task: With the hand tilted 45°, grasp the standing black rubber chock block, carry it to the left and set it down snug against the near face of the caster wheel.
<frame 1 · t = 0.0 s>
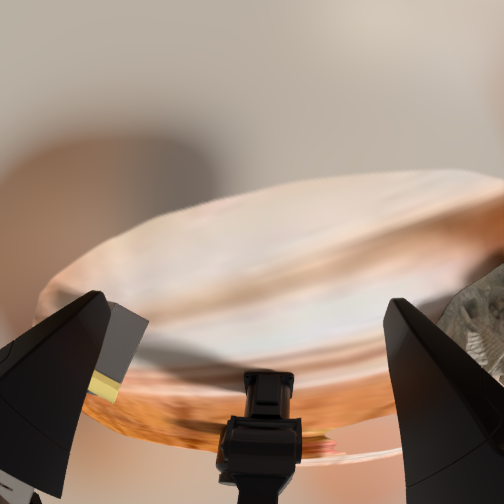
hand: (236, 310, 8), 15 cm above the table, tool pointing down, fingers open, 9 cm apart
ceramic cottage: (490, 299, 25), on the table
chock: (129, 322, 31), on the table
supplement bottle: (238, 430, 46), on the table
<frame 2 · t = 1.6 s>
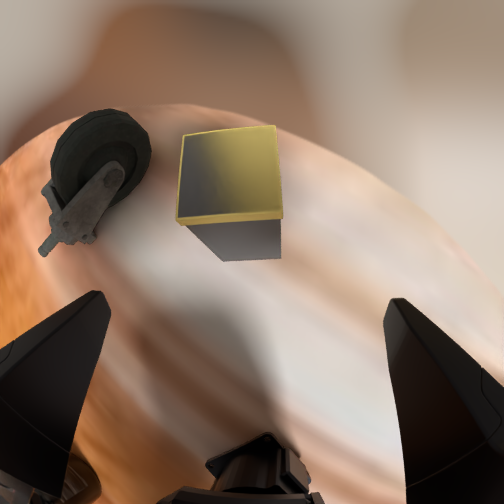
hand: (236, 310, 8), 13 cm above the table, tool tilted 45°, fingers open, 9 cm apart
caster wheel: (104, 207, 24), on the table
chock: (250, 231, 22), on the table
supplement bottle: (80, 474, 18), on the table
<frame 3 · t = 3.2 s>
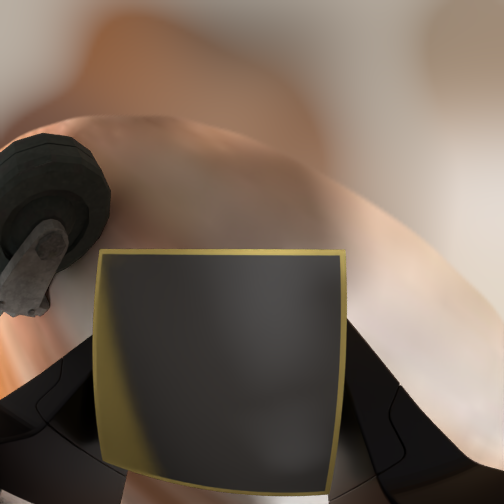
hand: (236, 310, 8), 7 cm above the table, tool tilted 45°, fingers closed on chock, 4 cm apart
caster wheel: (59, 264, 17), on the table
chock: (255, 340, 14), on the table, touching gripper
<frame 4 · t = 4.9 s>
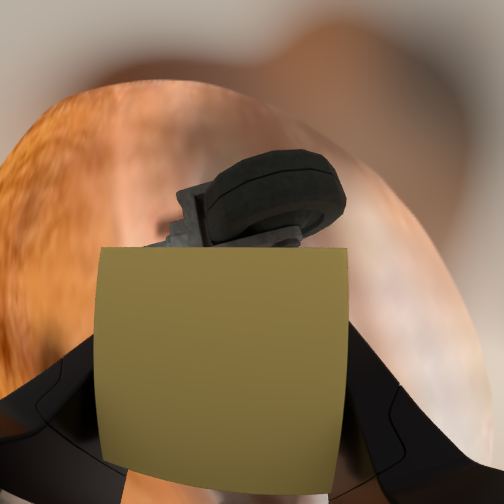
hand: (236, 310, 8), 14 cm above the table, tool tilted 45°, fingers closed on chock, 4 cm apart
caster wheel: (239, 239, 23), on the table
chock: (256, 339, 14), point 7 cm above the table, touching gripper
when the fingers open (8 cm above the table, at t = 6.5 s): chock drops 1 cm, on the table.
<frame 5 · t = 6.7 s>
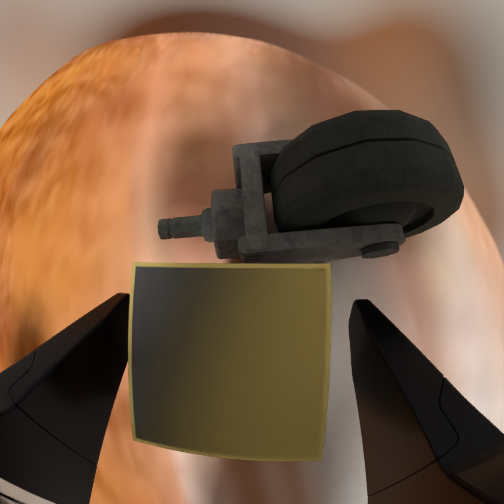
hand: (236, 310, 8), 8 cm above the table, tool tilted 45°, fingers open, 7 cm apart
caster wheel: (299, 230, 17), on the table
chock: (257, 337, 15), on the table
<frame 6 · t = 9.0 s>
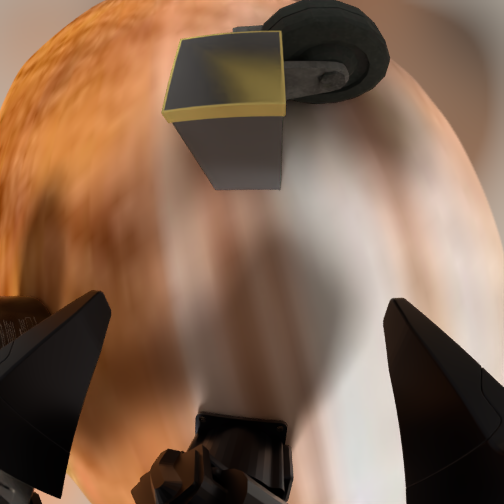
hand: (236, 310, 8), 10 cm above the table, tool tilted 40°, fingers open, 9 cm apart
caster wheel: (279, 94, 20), on the table
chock: (248, 160, 19), on the table
supplement bottle: (38, 331, 20), on the table
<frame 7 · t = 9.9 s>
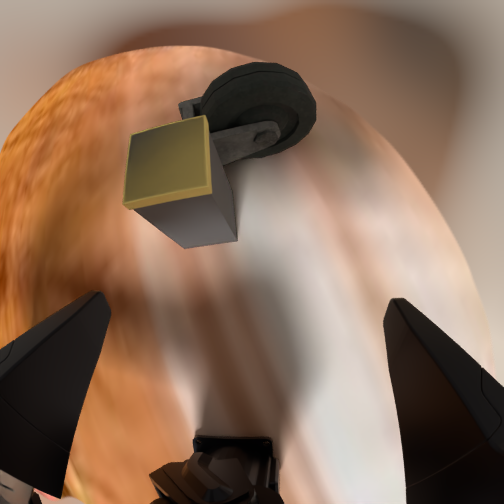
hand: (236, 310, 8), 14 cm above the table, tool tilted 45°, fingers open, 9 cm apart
caster wheel: (230, 154, 25), on the table
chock: (208, 219, 23), on the table
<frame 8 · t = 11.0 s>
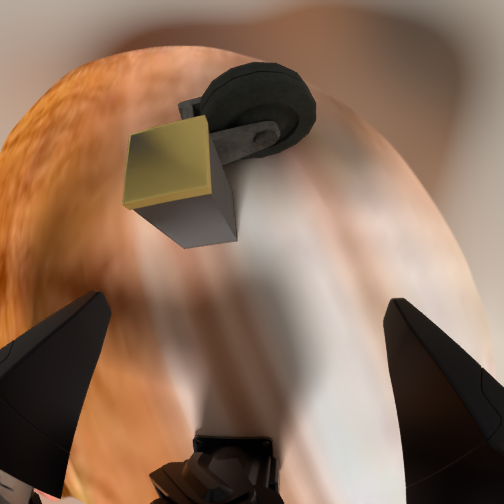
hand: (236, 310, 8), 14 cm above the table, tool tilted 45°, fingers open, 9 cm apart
caster wheel: (230, 154, 25), on the table
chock: (208, 219, 23), on the table
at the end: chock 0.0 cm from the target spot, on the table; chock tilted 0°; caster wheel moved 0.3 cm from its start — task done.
